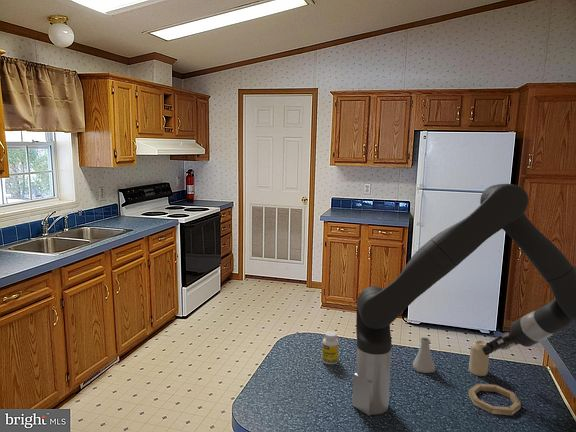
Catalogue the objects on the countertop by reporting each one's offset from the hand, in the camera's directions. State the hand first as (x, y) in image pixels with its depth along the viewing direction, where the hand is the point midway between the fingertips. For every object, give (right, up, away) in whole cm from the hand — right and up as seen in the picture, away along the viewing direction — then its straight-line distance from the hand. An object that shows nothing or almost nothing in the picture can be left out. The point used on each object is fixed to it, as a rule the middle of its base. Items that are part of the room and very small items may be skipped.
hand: (494, 349), depth 130 cm
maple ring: (-5, -12, -10) cm, 16 cm away
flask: (-19, -9, +8) cm, 23 cm away
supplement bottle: (-49, -8, +12) cm, 51 cm away
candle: (-2, -9, +6) cm, 11 cm away
